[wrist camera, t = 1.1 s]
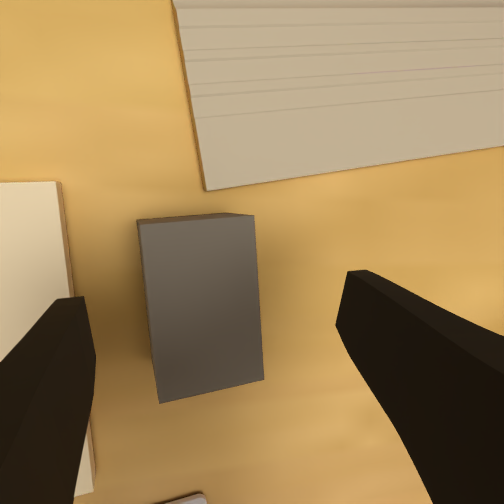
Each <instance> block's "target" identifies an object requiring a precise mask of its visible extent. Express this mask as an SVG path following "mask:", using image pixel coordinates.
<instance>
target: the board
mask: <svg viewBox="0 0 504 504" xmlns="http://www.w3.org/2000/svg"><path fill="white" fill-rule="evenodd" d="M70 297H75V295H74V287H73V279H72V271H71V262H70V254H69V246H68V237H67V229H66V221H65V213H64V204H63V196H62V188H61V183H59V182H56V181H49V182H12V183H0V362H1V361H2V360H3V359H4V357H5V356H6V355H7V354H8V353H9V352H10V351H11V350H12V349H13V348H14V347H15V345H16V344H17V343H18V342H19V341H20V340H21V339H22V338H23V337H24V335H25V334H26V333H27V332H28V331H29V330H30V329H31V327H32V326H33V325H34V324H35V323H36V322H37V320H38V319H39V318H40V317H41V316H42V315H43V313H44V312H45V311H46V310H47V309H48V308H49V307H50V305H51V304H52V303H53V302H54V301H55V300H56V299H59V298H70ZM95 475H96V469H95V461H94V453H93V445H92V436H91V428H90V420H89V421H88V427H87V432H86V437H85V442H84V447H83V452H82V457H81V462H80V467H79V472H78V477H77V483H76V488H75V494H74V497H76V496H80V495H84V494H87V493H91V492H94V484H95Z"/></svg>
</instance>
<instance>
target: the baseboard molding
mask: <svg viewBox="0 0 504 504" xmlns="http://www.w3.org/2000/svg"><path fill="white" fill-rule="evenodd" d="M171 3H172V9H173V15H174V21H175V27H176V33H177V38H178V44H179V50H180V56H181V62H182V67H183V73H184V79H185V85H186V91H187V97H188V102H189V108H190V114H191V120H192V126H193V131H194V137H195V143H196V149H197V155H198V160H199V166H200V172H201V178H202V184H203V189H204V191H210V190H217V189H223V188H230V187H236V186H243V185H250V184H256V183H263V182H269V181H276V180H282V179H289V178H295V177H302V176H308V175H315V174H321V173H328V172H334V171H341V170H347V169H354V168H361V167H367V166H374V165H380V164H387V163H393V162H400V161H406V160H413V159H419V158H426V157H432V156H439V155H445V154H452V153H458V152H465V151H471V150H478V149H485V148H491V147H498V146H504V0H171Z"/></svg>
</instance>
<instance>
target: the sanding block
mask: <svg viewBox="0 0 504 504" xmlns="http://www.w3.org/2000/svg"><path fill="white" fill-rule="evenodd" d="M137 228H138V237H139V246H140V255H141V264H142V273H143V282H144V291H145V300H146V309H147V318H148V327H149V336H150V346H151V355H152V362H153V369H154V375H155V381H156V387H157V393H158V399H159V404H161V403H165V402H170V401H174V400H178V399H183V398H187V397H191V396H196V395H200V394H204V393H209V392H213V391H217V390H222V389H226V388H230V387H235V386H239V385H243V384H248V383H252V382H256V381H261V380H264V369H263V352H262V336H261V320H260V303H259V287H258V270H257V254H256V238H255V221H254V215H244V214H234V213H217V214H204V215H191V216H178V217H165V218H152V219H139V220H137Z"/></svg>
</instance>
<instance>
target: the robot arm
mask: <svg viewBox="0 0 504 504" xmlns="http://www.w3.org/2000/svg"><path fill="white" fill-rule="evenodd" d="M336 328H337V330H338V332H339V335H340V337H341V339H342V342H343V344H344V346H345V348H346V350H347V352H348V354H349V356H350V357H351V359H352V361H353V362H354V364H355V366H356V367H357V369H358V370H359V372H360V374H361V375H362V377H363V378H364V380H365V381H366V383H367V385H368V386H369V388H370V389H371V391H372V392H373V394H374V395H375V397H376V399H377V400H378V402H379V403H380V405H381V406H382V408H383V410H384V411H385V413H386V414H387V416H388V417H389V419H390V420H391V422H392V424H393V426H394V427H395V429H396V431H397V432H398V434H399V436H400V438H401V440H402V442H403V444H404V445H405V447H406V449H407V451H408V453H409V455H410V457H411V459H412V461H413V463H414V465H415V467H416V469H417V471H418V473H419V475H420V477H421V479H422V481H423V484H424V486H425V488H426V490H427V492H428V494H429V496H430V498H431V500H432V502H433V504H504V336H502V335H499V334H497V333H494V332H492V331H490V330H487V329H485V328H483V327H481V326H478V325H476V324H474V323H472V322H470V321H468V320H466V319H463V318H461V317H459V316H457V315H455V314H453V313H451V312H449V311H447V310H445V309H443V308H441V307H439V306H437V305H435V304H433V303H431V302H429V301H427V300H425V299H423V298H422V297H420V296H418V295H416V294H414V293H412V292H410V291H408V290H406V289H405V288H403V287H401V286H399V285H397V284H395V283H393V282H391V281H389V280H387V279H385V278H383V277H381V276H379V275H377V274H375V273H373V272H370V271H368V270H357V271H347V276H346V280H345V285H344V289H343V294H342V298H341V302H340V307H339V311H338V316H337V320H336ZM95 367H96V354H95V349H94V344H93V339H92V334H91V329H90V324H89V319H88V314H87V309H86V304H85V299H84V296H80V297H70V298H59V299H56V300H55V301H54V302H53V303H52V304H51V305H50V307H49V308H48V309H47V310H46V311H45V312H44V313H43V315H42V316H41V317H40V318H39V319H38V320H37V322H36V323H35V324H34V325H33V326H32V327H31V329H30V330H29V331H28V332H27V333H26V334H25V335H24V337H23V338H22V339H21V340H20V341H19V342H18V343H17V344H16V345H15V347H14V348H13V349H12V350H11V351H10V352H9V353H8V354H7V355H6V356H5V357H4V359H3V360H2V361H1V362H0V504H73V501H74V494H75V488H76V483H77V477H78V472H79V467H80V462H81V457H82V452H83V447H84V442H85V437H86V432H87V427H88V421H89V416H90V411H91V406H92V400H93V395H94V382H95ZM165 504H207V501H206V498H205V496H204V495H203V494H196V495H192V496H189V497H186V498H182V499H179V500H176V501H172V502H169V503H165Z"/></svg>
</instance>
